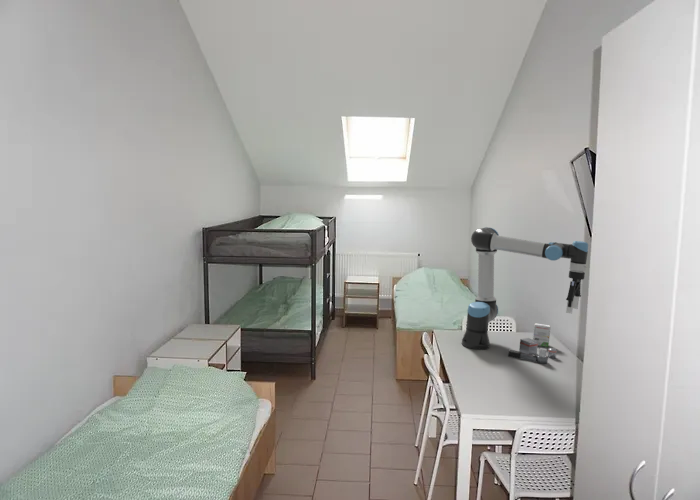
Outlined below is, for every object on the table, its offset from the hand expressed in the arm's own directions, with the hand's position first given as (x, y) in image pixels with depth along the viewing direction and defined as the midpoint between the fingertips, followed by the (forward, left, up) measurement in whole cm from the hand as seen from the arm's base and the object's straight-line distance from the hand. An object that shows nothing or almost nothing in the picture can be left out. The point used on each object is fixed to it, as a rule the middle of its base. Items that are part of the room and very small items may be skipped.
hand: (571, 310), depth 272 cm
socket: (-19, -6, -26) cm, 32 cm away
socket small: (-7, -5, -26) cm, 27 cm away
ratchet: (-17, -17, -25) cm, 35 cm away
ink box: (-16, +14, -26) cm, 33 cm away
